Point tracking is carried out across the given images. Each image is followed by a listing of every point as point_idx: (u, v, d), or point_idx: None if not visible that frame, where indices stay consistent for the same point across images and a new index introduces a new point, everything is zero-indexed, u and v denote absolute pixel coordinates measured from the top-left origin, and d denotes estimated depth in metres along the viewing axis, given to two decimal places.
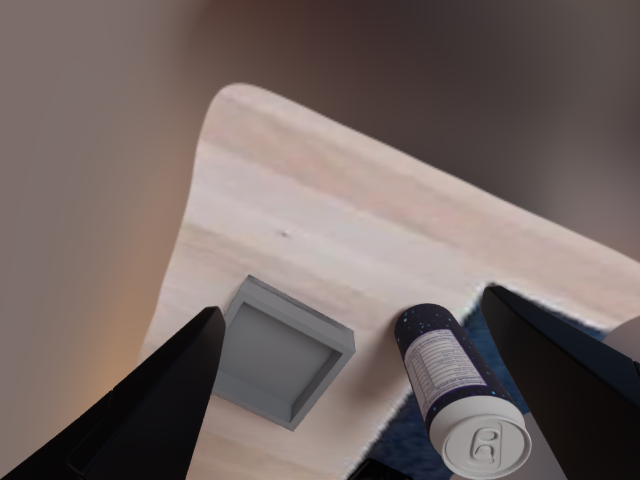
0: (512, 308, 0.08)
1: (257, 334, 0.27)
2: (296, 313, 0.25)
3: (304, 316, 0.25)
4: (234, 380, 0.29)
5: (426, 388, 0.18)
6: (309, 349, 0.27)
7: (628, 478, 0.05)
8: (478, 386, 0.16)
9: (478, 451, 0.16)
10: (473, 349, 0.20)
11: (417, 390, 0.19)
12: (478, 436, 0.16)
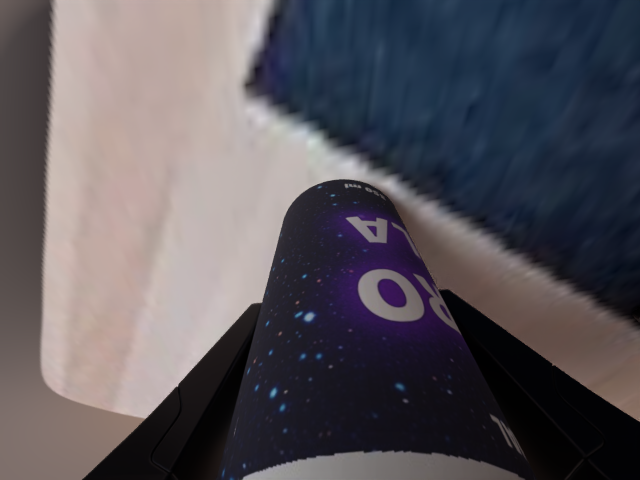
0: (453, 312, 0.08)
1: None
2: None
3: None
4: None
5: None
6: None
7: None
8: None
9: None
10: (272, 287, 0.08)
11: None
12: None
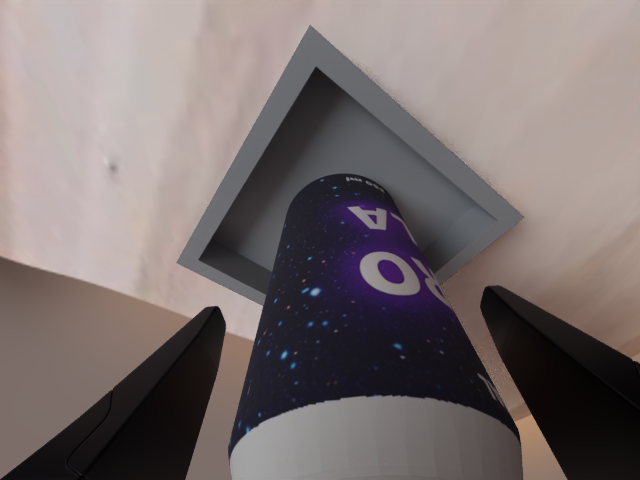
0: (512, 308, 0.08)
1: None
2: None
3: None
4: None
5: None
6: (339, 151, 0.13)
7: (628, 478, 0.05)
8: None
9: None
10: (278, 270, 0.08)
11: None
12: None
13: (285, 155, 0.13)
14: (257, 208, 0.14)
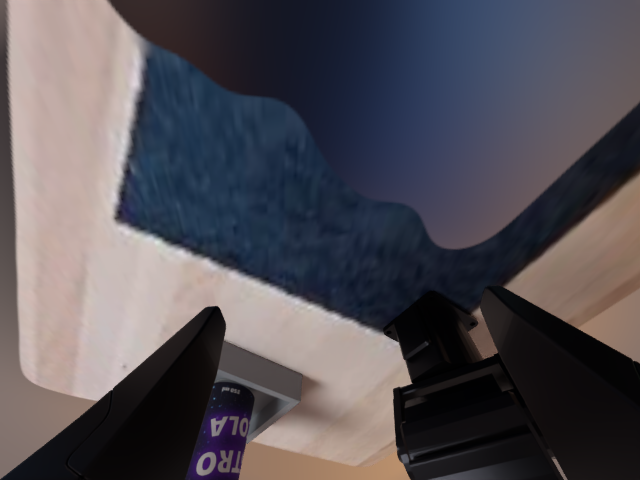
0: (512, 308, 0.08)
1: None
2: None
3: None
4: (260, 413, 0.33)
5: None
6: None
7: (628, 478, 0.05)
8: None
9: None
10: None
11: None
12: None
13: None
14: None
